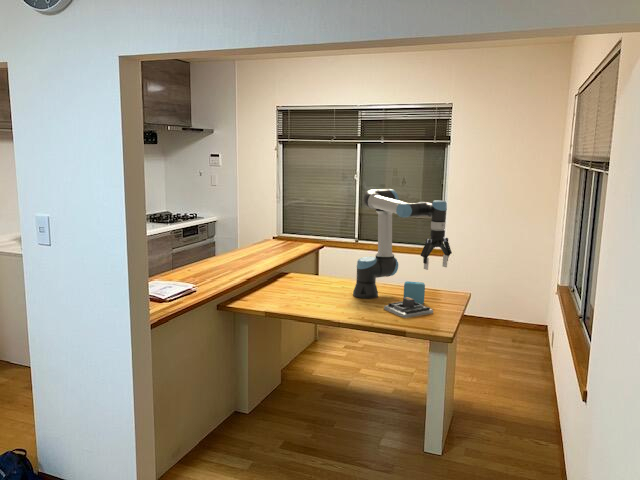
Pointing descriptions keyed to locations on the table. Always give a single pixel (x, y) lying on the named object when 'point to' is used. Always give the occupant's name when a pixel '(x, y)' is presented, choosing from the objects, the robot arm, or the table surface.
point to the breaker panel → (408, 309)
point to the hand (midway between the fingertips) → (435, 268)
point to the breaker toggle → (408, 302)
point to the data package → (415, 291)
